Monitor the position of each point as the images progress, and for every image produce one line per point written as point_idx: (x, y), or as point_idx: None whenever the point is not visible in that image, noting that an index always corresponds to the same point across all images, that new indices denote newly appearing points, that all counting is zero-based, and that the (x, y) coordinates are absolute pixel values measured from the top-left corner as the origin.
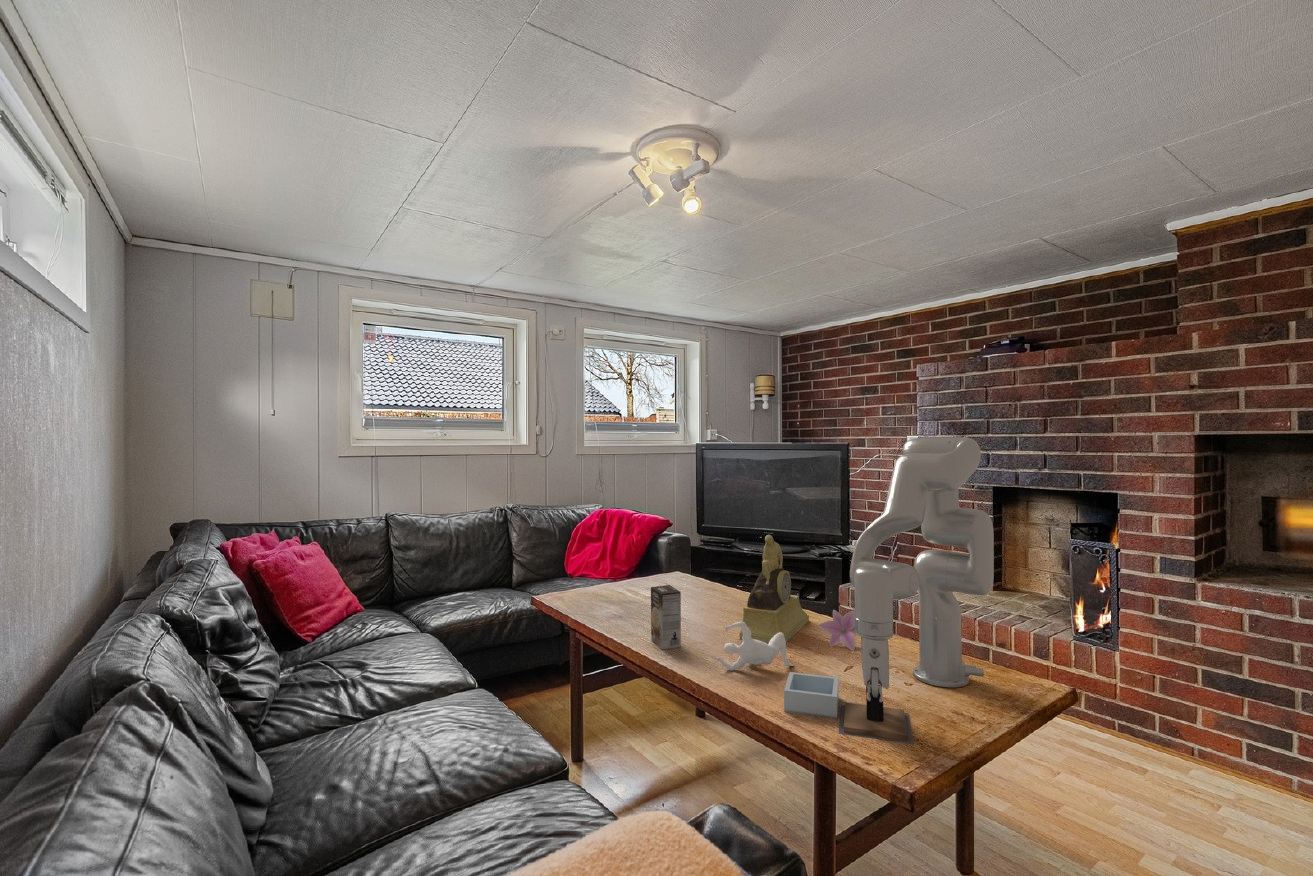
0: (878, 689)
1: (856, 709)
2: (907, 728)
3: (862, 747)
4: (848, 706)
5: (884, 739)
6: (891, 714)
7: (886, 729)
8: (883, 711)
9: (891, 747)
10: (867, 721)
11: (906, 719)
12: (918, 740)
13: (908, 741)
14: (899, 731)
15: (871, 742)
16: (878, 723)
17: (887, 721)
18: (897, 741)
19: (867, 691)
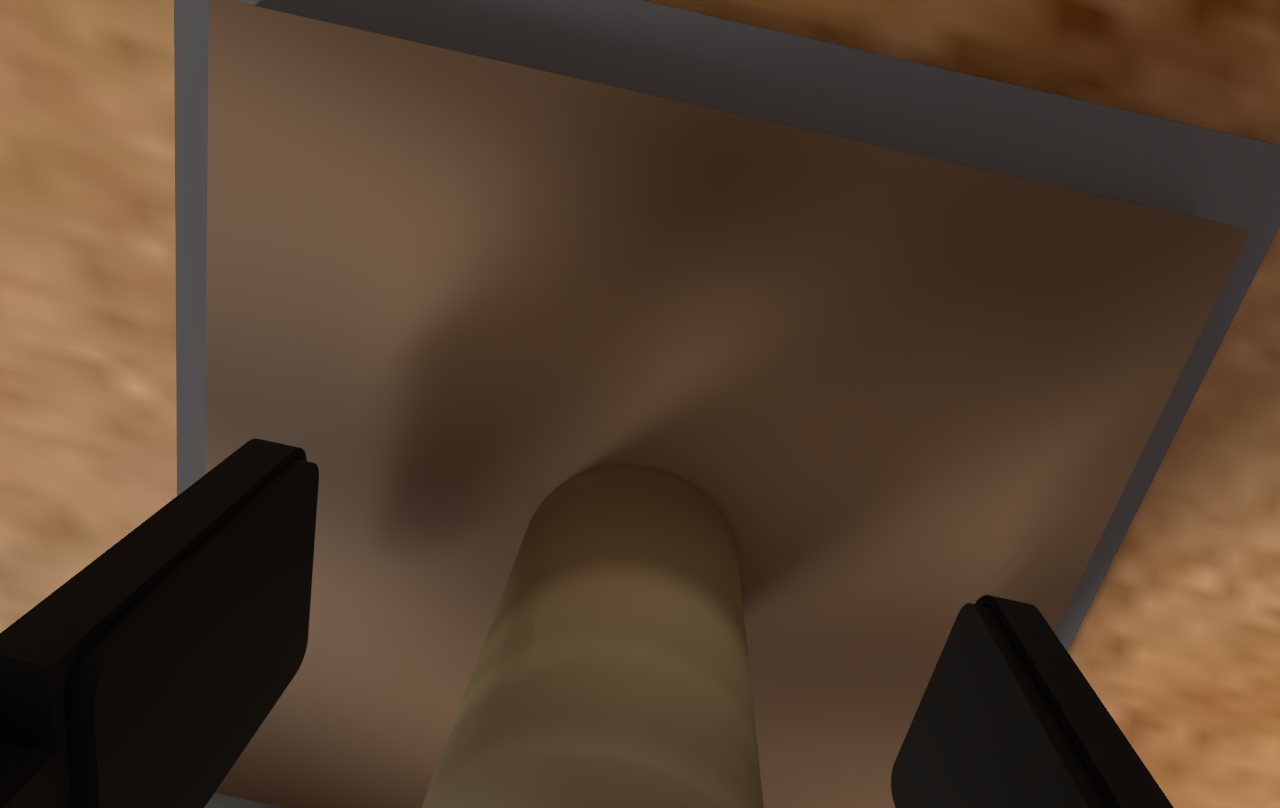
0: (156, 678)
1: (392, 717)
2: (783, 100)
3: (1207, 763)
4: (321, 782)
5: (1122, 529)
6: (465, 286)
7: (1009, 501)
8: (378, 385)
9: (1262, 468)
10: (753, 676)
11: (451, 17)
12: (1110, 14)
13: (1220, 216)
14: (1084, 326)
15: (1102, 654)
16: (809, 557)
17: (730, 415)
18: (1199, 378)
19: (197, 800)
